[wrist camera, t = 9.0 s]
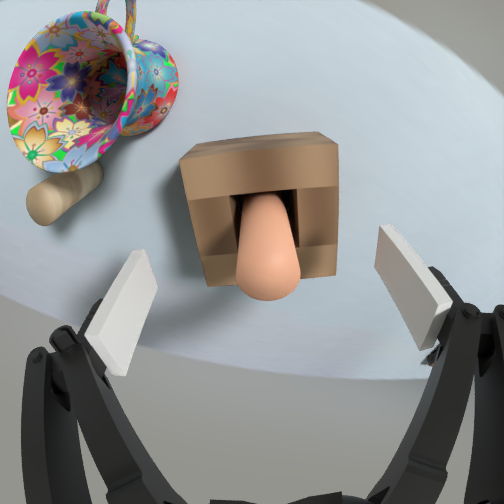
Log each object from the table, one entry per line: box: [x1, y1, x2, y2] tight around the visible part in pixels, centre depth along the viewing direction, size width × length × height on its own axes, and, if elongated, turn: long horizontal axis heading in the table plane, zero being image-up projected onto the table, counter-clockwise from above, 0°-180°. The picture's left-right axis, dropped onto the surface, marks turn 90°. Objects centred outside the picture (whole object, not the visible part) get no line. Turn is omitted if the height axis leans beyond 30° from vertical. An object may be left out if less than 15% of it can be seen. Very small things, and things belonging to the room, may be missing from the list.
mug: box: [7, 0, 178, 173], centre depth 14 cm, size 12×9×11 cm
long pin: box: [236, 190, 301, 301], centre depth 19 cm, size 3×3×12 cm
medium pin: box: [26, 160, 103, 226], centre depth 20 cm, size 3×3×8 cm
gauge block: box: [179, 132, 339, 287], centre depth 22 cm, size 10×10×6 cm
